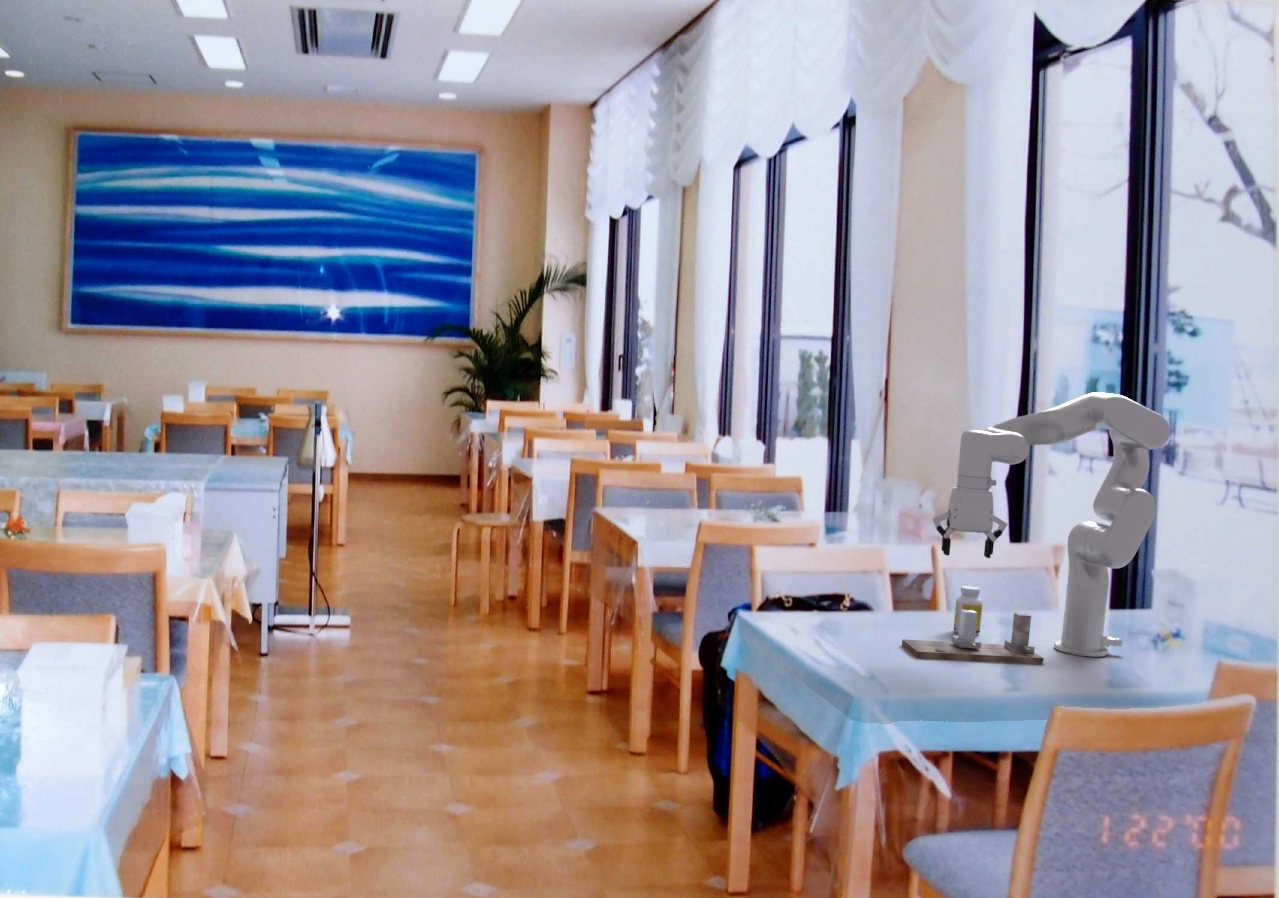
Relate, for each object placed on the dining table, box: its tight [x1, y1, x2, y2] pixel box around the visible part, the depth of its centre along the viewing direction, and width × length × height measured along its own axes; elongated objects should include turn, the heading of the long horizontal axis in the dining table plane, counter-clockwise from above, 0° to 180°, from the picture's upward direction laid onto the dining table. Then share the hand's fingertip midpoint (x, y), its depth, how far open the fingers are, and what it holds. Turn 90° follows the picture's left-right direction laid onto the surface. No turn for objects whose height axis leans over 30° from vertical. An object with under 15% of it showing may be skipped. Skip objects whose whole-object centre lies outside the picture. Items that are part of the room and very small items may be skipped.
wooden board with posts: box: [901, 612, 1045, 665], centre depth 331 cm, size 30×12×10 cm, turn 96°
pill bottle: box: [953, 585, 983, 636], centre depth 355 cm, size 6×6×12 cm
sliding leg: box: [951, 610, 982, 649], centre depth 330 cm, size 5×9×8 cm, turn 6°
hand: (966, 555), depth 331 cm, fingers open, 9 cm apart
